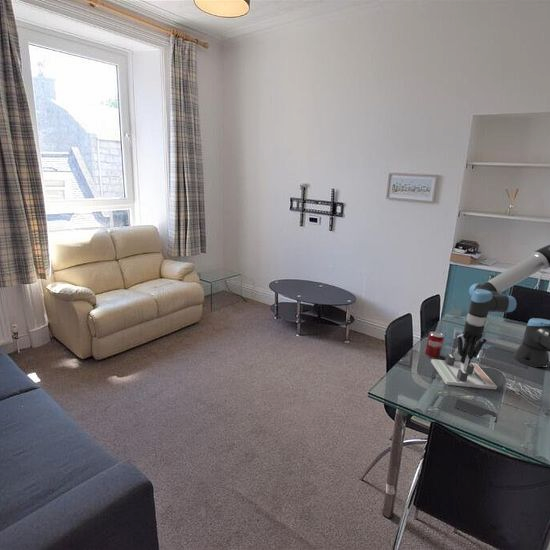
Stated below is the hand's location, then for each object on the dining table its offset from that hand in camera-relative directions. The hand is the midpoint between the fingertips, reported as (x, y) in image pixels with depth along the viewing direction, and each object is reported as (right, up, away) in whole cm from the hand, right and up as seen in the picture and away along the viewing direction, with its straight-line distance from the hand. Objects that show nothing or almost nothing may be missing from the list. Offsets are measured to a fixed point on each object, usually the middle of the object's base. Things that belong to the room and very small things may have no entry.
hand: (463, 369), depth 174 cm
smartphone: (-8, -11, -25) cm, 29 cm away
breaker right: (-4, -3, -6) cm, 8 cm away
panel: (0, -3, +1) cm, 3 cm away
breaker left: (-3, +1, +7) cm, 8 cm away
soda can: (-7, +3, +17) cm, 19 cm away
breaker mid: (+2, -2, 0) cm, 3 cm away
